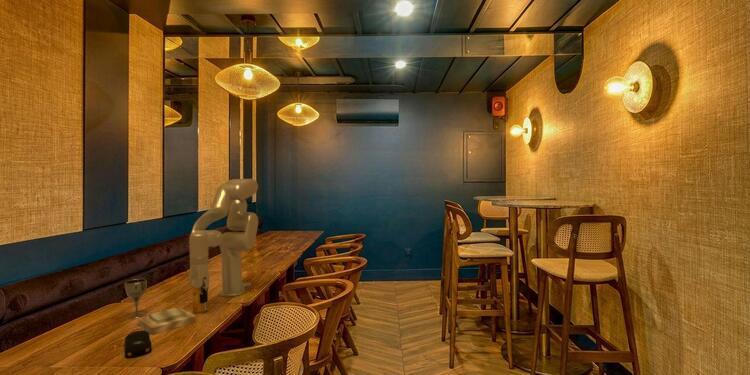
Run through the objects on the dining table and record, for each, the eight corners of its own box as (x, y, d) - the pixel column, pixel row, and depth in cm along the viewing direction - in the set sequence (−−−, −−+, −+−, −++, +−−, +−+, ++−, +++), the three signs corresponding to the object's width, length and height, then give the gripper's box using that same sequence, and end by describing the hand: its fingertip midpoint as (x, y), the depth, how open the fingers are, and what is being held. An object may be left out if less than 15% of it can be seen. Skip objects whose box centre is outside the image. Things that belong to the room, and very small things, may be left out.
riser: (180, 313, 158) (180, 304, 158) (195, 322, 148) (195, 312, 148) (138, 324, 146) (138, 314, 146) (151, 335, 136) (151, 324, 136)
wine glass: (151, 313, 159) (150, 279, 159) (133, 319, 152) (132, 284, 152) (140, 311, 162) (139, 277, 162) (121, 317, 155) (120, 282, 155)
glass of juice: (196, 309, 164) (195, 276, 164) (210, 308, 164) (209, 275, 164) (190, 313, 158) (189, 279, 158) (205, 313, 158) (204, 279, 158)
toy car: (124, 361, 116) (124, 345, 116) (124, 343, 130) (124, 329, 130) (152, 354, 121) (151, 339, 121) (149, 337, 134) (148, 324, 134)
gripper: (182, 259, 164) (183, 299, 164) (199, 264, 152) (200, 307, 152) (199, 257, 169) (200, 295, 169) (216, 261, 158) (217, 302, 158)
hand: (200, 300), depth 161 cm, fingers closed on glass of juice, 6 cm apart
